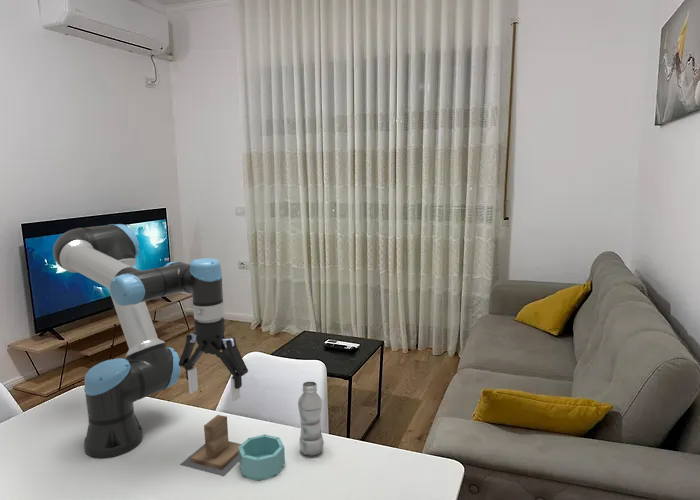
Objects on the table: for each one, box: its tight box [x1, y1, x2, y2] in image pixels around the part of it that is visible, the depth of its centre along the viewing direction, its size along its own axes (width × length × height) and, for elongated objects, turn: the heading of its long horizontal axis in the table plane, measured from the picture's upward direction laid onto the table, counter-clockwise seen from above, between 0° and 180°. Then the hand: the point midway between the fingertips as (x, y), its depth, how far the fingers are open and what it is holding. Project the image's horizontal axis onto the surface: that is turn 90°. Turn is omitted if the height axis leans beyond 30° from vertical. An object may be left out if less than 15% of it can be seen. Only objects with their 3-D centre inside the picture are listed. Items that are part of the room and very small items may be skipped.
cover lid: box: [191, 414, 240, 470], centre depth 134 cm, size 10×10×10 cm
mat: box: [179, 440, 242, 477], centre depth 135 cm, size 14×14×1 cm
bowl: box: [238, 433, 286, 481], centre depth 130 cm, size 11×11×6 cm
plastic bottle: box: [297, 381, 324, 457], centre depth 135 cm, size 6×7×20 cm
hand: (214, 395), depth 132 cm, fingers open, 13 cm apart
